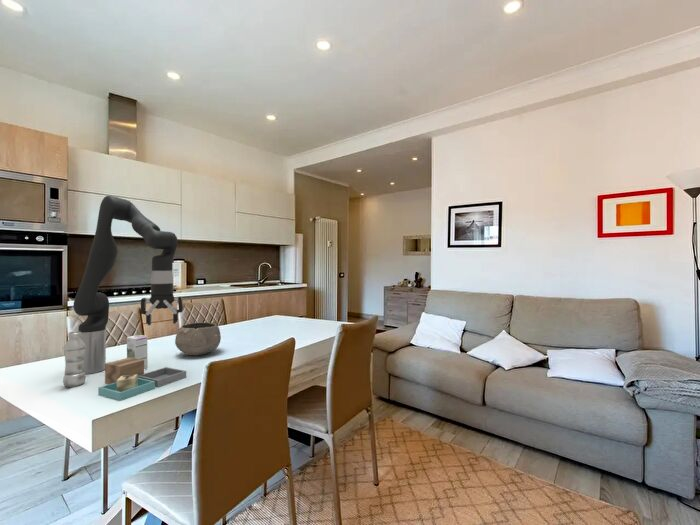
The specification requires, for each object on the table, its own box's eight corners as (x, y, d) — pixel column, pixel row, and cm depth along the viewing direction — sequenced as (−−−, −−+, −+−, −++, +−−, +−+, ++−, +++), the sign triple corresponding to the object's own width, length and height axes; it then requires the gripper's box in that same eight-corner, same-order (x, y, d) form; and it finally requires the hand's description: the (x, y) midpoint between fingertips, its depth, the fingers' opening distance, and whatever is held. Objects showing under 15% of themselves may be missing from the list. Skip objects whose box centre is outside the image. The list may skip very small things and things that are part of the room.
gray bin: (136, 383, 124) (136, 376, 124) (165, 374, 135) (165, 367, 135) (157, 388, 119) (157, 380, 119) (186, 378, 130) (186, 370, 130)
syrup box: (148, 368, 143) (148, 335, 143) (134, 372, 138) (134, 338, 138) (139, 367, 145) (140, 334, 146) (126, 370, 140) (126, 336, 140)
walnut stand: (104, 384, 124) (105, 363, 124) (129, 377, 132) (129, 357, 132) (119, 388, 120) (119, 366, 120) (144, 380, 128) (144, 360, 128)
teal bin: (98, 396, 113) (98, 387, 113) (133, 384, 124) (133, 376, 124) (119, 402, 108) (119, 393, 108) (154, 389, 119) (154, 381, 119)
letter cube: (116, 395, 112) (116, 380, 112) (121, 390, 117) (121, 375, 117) (133, 393, 114) (133, 378, 114) (137, 388, 119) (137, 373, 119)
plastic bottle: (67, 390, 118) (67, 334, 118) (59, 387, 121) (60, 332, 122) (88, 385, 123) (89, 331, 124) (81, 381, 127) (81, 330, 127)
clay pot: (217, 347, 181) (217, 319, 181) (224, 355, 163) (224, 325, 163) (173, 352, 170) (173, 323, 170) (176, 362, 152) (176, 330, 152)
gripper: (183, 281, 134) (183, 321, 134) (143, 282, 129) (143, 323, 129) (181, 282, 127) (181, 324, 127) (138, 283, 122) (138, 327, 122)
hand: (162, 324), depth 128 cm, fingers open, 8 cm apart
